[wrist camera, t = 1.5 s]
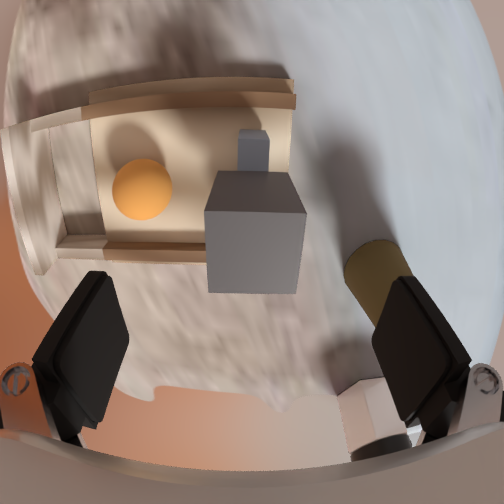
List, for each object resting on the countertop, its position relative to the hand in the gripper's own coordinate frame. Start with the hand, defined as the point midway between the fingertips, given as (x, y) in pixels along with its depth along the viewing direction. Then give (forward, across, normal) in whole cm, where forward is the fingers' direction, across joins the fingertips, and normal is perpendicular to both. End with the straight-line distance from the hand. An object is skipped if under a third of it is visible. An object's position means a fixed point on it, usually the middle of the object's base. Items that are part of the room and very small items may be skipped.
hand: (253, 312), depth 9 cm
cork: (+14, -12, +7) cm, 19 cm away
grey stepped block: (+12, 0, -1) cm, 12 cm away
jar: (+14, -18, +29) cm, 37 cm away
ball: (+10, +7, -1) cm, 12 cm away
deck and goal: (+14, +8, -1) cm, 16 cm away
